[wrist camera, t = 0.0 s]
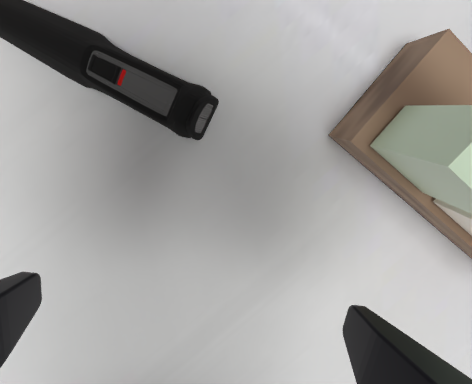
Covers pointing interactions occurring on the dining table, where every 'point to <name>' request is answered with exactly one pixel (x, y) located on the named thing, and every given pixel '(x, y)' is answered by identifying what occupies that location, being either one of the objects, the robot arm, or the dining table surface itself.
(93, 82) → the electric trimmer
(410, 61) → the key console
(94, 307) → the dining table surface
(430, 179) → the sage key
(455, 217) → the cream key
